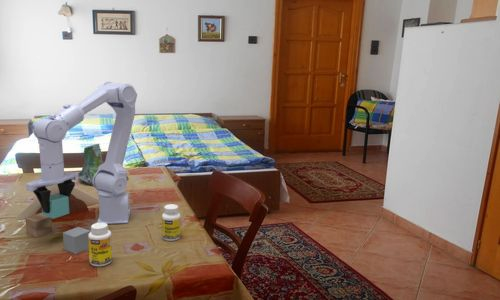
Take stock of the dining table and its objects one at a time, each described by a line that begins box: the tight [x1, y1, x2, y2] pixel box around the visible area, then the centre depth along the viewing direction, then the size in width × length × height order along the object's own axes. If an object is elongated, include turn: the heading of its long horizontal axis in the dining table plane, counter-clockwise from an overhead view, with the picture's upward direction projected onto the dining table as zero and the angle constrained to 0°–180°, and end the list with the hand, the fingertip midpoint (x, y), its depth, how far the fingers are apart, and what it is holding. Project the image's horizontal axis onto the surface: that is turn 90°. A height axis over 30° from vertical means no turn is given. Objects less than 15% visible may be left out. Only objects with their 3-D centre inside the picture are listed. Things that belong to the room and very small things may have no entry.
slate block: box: [62, 226, 91, 255], centre depth 116 cm, size 5×5×5 cm
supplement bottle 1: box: [88, 222, 113, 267], centre depth 108 cm, size 6×6×10 cm
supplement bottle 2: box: [161, 203, 182, 242], centre depth 124 cm, size 5×5×10 cm
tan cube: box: [25, 212, 53, 238], centre depth 125 cm, size 5×5×5 cm
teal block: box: [41, 193, 70, 220], centre depth 119 cm, size 5×5×5 cm
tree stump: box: [77, 143, 129, 187], centre depth 177 cm, size 18×20×18 cm
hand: (55, 209), depth 119 cm, fingers closed on teal block, 5 cm apart
